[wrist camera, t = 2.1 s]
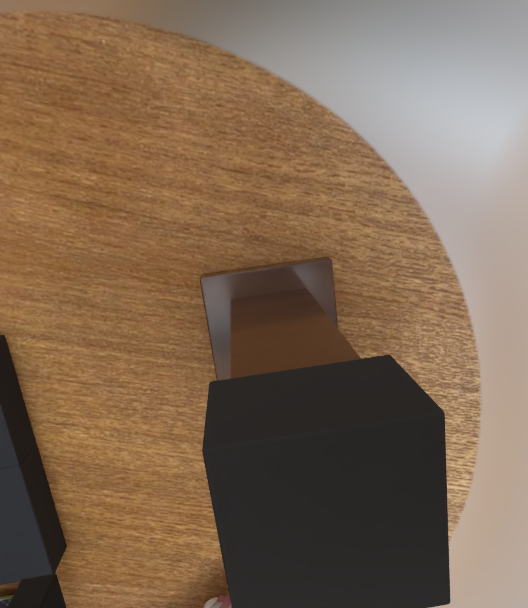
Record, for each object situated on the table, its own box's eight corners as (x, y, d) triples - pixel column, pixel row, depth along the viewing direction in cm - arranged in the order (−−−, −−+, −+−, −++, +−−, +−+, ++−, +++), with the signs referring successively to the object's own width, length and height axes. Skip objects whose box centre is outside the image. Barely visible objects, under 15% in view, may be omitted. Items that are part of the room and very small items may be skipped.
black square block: (208, 380, 15) (201, 449, 11) (390, 353, 15) (446, 411, 11) (235, 534, 16) (237, 642, 12) (399, 507, 16) (451, 605, 13)
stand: (200, 274, 28) (172, 356, 14) (328, 256, 28) (418, 320, 15) (220, 392, 30) (212, 561, 16) (339, 374, 30) (427, 525, 17)
